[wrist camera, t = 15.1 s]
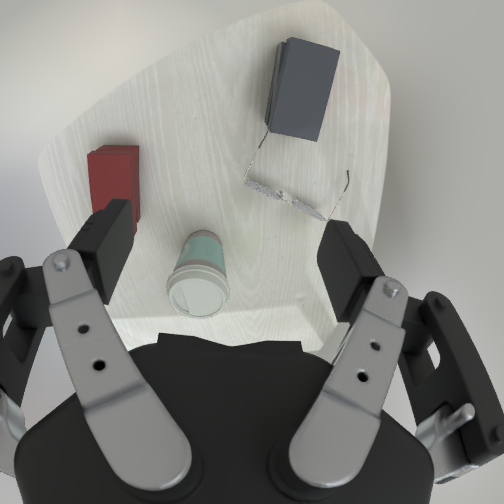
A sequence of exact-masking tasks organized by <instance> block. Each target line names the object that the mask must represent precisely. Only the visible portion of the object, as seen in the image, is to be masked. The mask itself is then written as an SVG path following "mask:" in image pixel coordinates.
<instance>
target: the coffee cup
mask: <svg viewBox="0 0 504 504" xmlns="http://www.w3.org/2000/svg"><path fill="white" fill-rule="evenodd" d="M167 295H168V297H169V302H170V304H171V306H172V307H173V308H174V309H175V310H176V311H177V312H179V313H180V314H182V315H184V316H187V317H190V318H195V319H204V318H210V317H213V316H215V315H217V314H218V313H220V312H221V311H222V310H223V308H224V307H225V304H226V303H227V301H228V299H229V295H230V285H229V282H228V280H227V277H226V270H225V263H224V256H223V250H222V244H221V241H220V239H219V238H218V237H217V236H216V235H215V234H213V233H211V232H208V231H197V232H195V233H193V234H191V235H190V236H189V237H188V239H187V241H186V243H185V245H184V247H183V250H182V252H181V254H180V257H179V259H178V261H177V264H176V266H175V269H174V271H173V273H172V274H171V275H170V276H169V278H168V280H167Z"/></svg>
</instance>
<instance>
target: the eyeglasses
mask: <svg viewBox="0 0 504 504" xmlns="http://www.w3.org/2000/svg"><path fill="white" fill-rule="evenodd" d="M268 130H269V129H268ZM267 133H268V131H267ZM267 133H266V135H267ZM266 135H265V137H266ZM265 137H264V139H265ZM264 139H263V140H262V142H263V141H264ZM262 142H261V144H262ZM261 144H260V146H261ZM260 146H259V147H258V150H259V148H260ZM258 150H257V152H258ZM257 152H256V154H257ZM256 154H255V156H256ZM255 156H254V158H255ZM254 158H253V160H254ZM253 160H252V162H253ZM252 162H251V164H252ZM251 164H250V166H251ZM250 166H249V168H250ZM249 168H248V170H249ZM248 170H247V172H248ZM348 171H349V170H348ZM348 171H347V175H348V184H349V173H348ZM247 172H246V174H245V176H244V178H243V180H242V184H244V185H246V186H248V187H249V188H251V189H253V190H255V191H257V192H259V193H261V194H263V195H266V196H268V197H270V198H273V199H275V200H278V201H285V202H288V203H290V204H292V205H293V206H294V207H296V208H297V209H298V210H300V211H302V212H304V213H306V214H308V215H310V216H312V217H314V218H317V219H319V220H322V221H325V222H328V221H329V220H330V218H331V217H332V215H333V213H334V211H335V209H336V207H337V205H338V204H339V202H340V200H341V198H342V196H343V194H344V192H345V191H346V189H347V186H348V184H347V186H346V188H345V190H344V192H343V194H342V196H341V198H340V200H339V201H338V203H337V205H336V207H335V208H334V210H333V212H332V214H331V215H330V217H329V219H328V220H325V218H324V217H323V216H322V215H321V214H320V213H319V212H318V211H316V210H315V209H313V208H311V207H309V206H307V205H305V204H303V203H300V202H298V201H297V200H298V199H297V198H293V201H292V203H291V202H289V201H286V200H283V198H282V197H283V196H284V194H283V192H282V191H279V192H280V194H281V195H282V196H280V195H279V194H278V193H276V192H275V191H274V190H272V189H270V188H268V187H265V186H263V185H261V184H259V183H256V182H254V181H251V180H246V182H245V183H243V181H244V179H245V177H246V175H247Z"/></svg>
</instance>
